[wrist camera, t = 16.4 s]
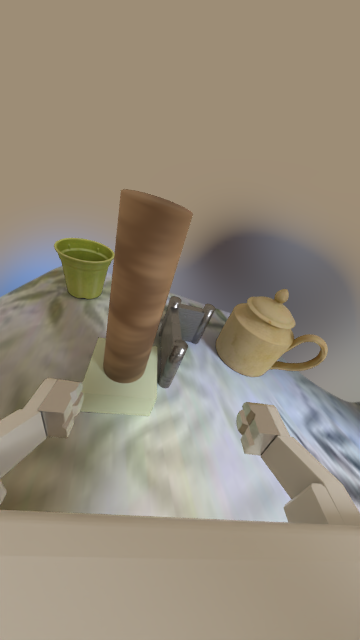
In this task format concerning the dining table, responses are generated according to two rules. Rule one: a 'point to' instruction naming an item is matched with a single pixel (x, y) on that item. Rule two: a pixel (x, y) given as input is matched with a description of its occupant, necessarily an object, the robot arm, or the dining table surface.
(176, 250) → the brown wooden cylinder
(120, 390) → the block
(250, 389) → the dining table surface
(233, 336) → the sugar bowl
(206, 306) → the corner post block
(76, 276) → the plant pot
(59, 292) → the dining table surface
